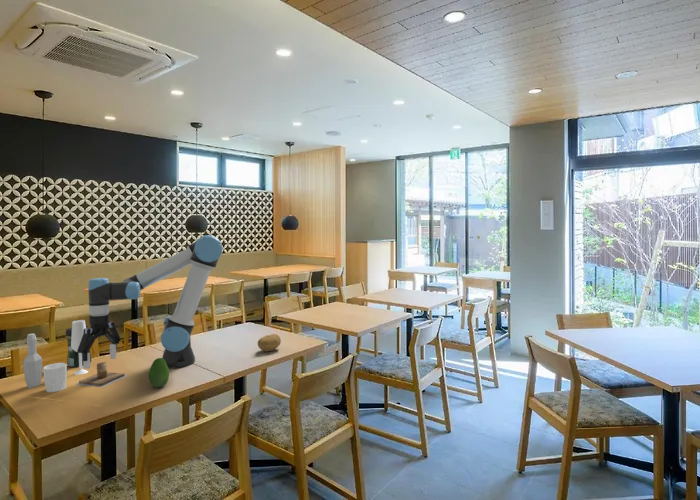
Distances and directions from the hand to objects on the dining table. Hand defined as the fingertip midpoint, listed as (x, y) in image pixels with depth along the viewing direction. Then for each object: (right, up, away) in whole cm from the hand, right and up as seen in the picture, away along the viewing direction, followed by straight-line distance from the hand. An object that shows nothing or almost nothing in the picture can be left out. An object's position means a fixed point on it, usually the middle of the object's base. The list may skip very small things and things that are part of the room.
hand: (100, 363), depth 181 cm
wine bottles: (-24, -7, +23) cm, 33 cm away
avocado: (+28, -8, -7) cm, 30 cm away
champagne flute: (-15, -8, +10) cm, 19 cm away
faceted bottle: (-25, -8, -5) cm, 27 cm away
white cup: (-13, -9, -9) cm, 18 cm away
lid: (0, -7, +1) cm, 7 cm away
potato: (+65, -5, +42) cm, 77 cm away
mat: (0, -8, +1) cm, 8 cm away
